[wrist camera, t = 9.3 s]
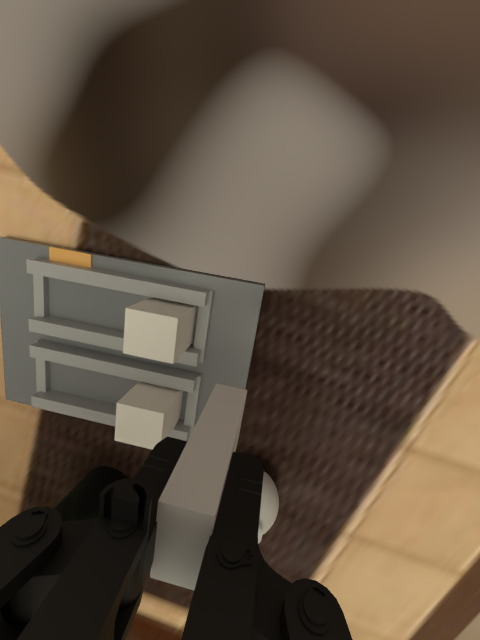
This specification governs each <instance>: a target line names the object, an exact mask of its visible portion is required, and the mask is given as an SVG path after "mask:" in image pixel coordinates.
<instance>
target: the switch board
mask: <svg viewBox="0 0 480 640" xmlns="http://www.w3.org/2000/svg"><path fill="white" fill-rule="evenodd" d="M264 288H265V284H262V283H258V282H252V281H247V280H241V279H236V278H230V277H224V276H219V275H214V274H208V273H202V272H197V271H192V270H186V269H181V268H175V267H170V266H164V265H159V264H153V263H148V262H142V261H137V260H131V259H126V258H120V257H115V256H110V255H104V254H99V253H93V252H88V251H82V250H77V249H71V248H66V247H60V246H55V245H49V244H44V243H38V242H33V241H27V240H22V239H16V238H11V237H0V313H1V329H2V345H3V361H4V377H5V393H6V399H7V400H11V401H15V402H19V403H24V404H28V405H32V407H35V408H40V409H44V410H48V411H52V412H56V413H61V414H65V415H69V416H73V417H77V418H82V419H86V420H90V421H94V422H98V423H103V424H107V425H111V426H115V422H116V403H117V402H118V401H119V400H120V399H121V398H122V397H123V396H124V395H125V394H126V393H127V392H128V391H129V390H130V389H131V388H133V387H134V386H135V385H136V384H137V383H138V382H139V381H141V382H145V383H150V384H154V385H159V386H163V387H168V388H172V389H177V390H182V391H183V399H182V407H181V415H180V418H179V420H178V422H177V423H176V425H175V427H174V429H173V430H172V432H171V434H170V435H169V437H172V438H176V439H180V440H184V441H188V439H189V437H190V435H191V433H192V431H193V429H194V427H195V425H196V423H197V421H198V419H199V417H200V415H201V413H202V411H203V409H204V407H205V405H206V403H207V401H208V399H209V397H210V395H211V393H212V391H213V389H214V387H215V385H216V383H218V384H222V385H227V386H231V387H236V388H240V389H245V390H246V384H247V379H248V374H249V368H250V363H251V358H252V352H253V347H254V341H255V336H256V331H257V325H258V320H259V315H260V309H261V304H262V299H263V293H264ZM151 297H154V298H159V299H164V300H170V301H175V302H180V303H185V304H190V305H196V306H197V312H196V319H195V327H194V335H193V343H192V344H191V345H190V346H189V347H188V348H187V349H186V350H185V351H184V353H183V354H182V355H181V356H180V357H179V358H178V359H177V360H176V361H175V363H174V364H171V363H166V362H161V361H157V360H152V359H147V358H143V357H138V356H133V355H128V354H124V353H123V343H124V326H125V309H126V308H127V307H129V306H132V305H134V304H136V303H139V302H141V301H144V300H146V299H149V298H151Z"/></svg>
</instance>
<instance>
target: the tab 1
mask: <svg viewBox="0 0 480 640" xmlns="http://www.w3.org/2000/svg"><path fill="white" fill-rule="evenodd" d="M196 312H197V306H196V305H190V304H185V303H180V302H175V301H170V300H164V299H159V298H154V297H151V298H149V299H146V300H144V301H141V302H139V303H136V304H134V305H132V306H129V307H127V308H126V309H125V326H124V343H123V353H124V354H128V355H133V356H138V357H143V358H147V359H152V360H157V361H161V362H166V363H171V364H174V363H175V361H176V360H177V359H178V358H179V357H180V356H181V355H182V354H183V353H184V351H185V350H186V349H187V348H188V347H189V346H190V345H191V344H192V343H193V335H194V327H195V319H196Z"/></svg>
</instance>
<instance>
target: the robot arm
mask: <svg viewBox="0 0 480 640" xmlns="http://www.w3.org/2000/svg"><path fill="white" fill-rule="evenodd" d="M246 395H247V390H245V389H240V388H236V387H231V386H227V385H222V384H218V383H216V385H215V387H214V389H213V391H212V393H211V395H210V397H209V399H208V401H207V403H206V405H205V407H204V409H203V411H202V413H201V415H200V417H199V419H198V421H197V423H196V425H195V427H194V429H193V431H192V433H191V435H190V437H189V439H188V441H184V440H180V439H176V438H172V437H168V436H167V437H166V438H164V439H163V440H161V441H160V442H159V443H157V444H156V445H155V447H154V448H153V450H152V452H151V453H150V455H149V457H148V458H147V459H146V461H145V462H144V465H143V466H142V467H141V469H140V470H139V472H138V473H137V475H136V477H135V478H134V479H131V478H126V479H121V480H117V481H115V482H113V483H111V484H109V485H107V486H106V487H105V488H104V489H103V490H102V491H101V492H100V503H99V517H96V518H94V519H88V520H77V521H62V519H61V515H60V514H59V512H58V511H57V510H56V509H53V508H50V507H35V508H32V509H29V510H26V511H23V512H22V513H20V514H18V515H17V516H15V517H13V518H12V519H10V520H9V521H8V522H6V523H5V524H4V525H2V526H1V527H0V640H126V637H127V635H128V632H129V630H130V627H131V625H132V622H133V620H134V617H135V615H136V612H137V610H138V607H139V605H140V602H141V597H142V593H143V585H144V582H145V580H146V578H147V575H148V573H149V570H150V568H151V572H150V577H151V578H154V579H157V580H161V581H164V582H167V583H171V584H174V585H178V586H181V587H184V588H188V589H191V590H194V594H193V597H192V601H191V605H190V609H189V613H188V616H187V620H186V624H185V628H184V632H183V635H182V639H181V640H352V637H351V634H350V631H349V629H348V626H347V623H346V620H345V617H344V614H343V611H342V609H341V607H340V605H339V603H338V601H337V599H336V598H335V597H334V596H333V594H332V593H331V592H330V591H329V590H328V589H327V588H326V587H325V586H323V585H322V584H320V583H319V582H317V581H315V580H310V579H306V578H305V579H300V580H296V581H295V582H294V583H293V584H292V583H291V582H289V581H288V580H286V579H285V578H283V577H282V576H281V575H279V574H278V573H276V572H275V571H274V570H273V569H272V568H270V566H269V565H268V564H267V563H266V561H265V560H264V558H263V556H262V554H261V552H260V549H259V545H258V529H259V518H260V508H261V497H262V486H263V485H262V484H263V475H264V469H263V466H262V463H261V461H260V458H258V457H254V456H250V455H245V454H241V453H237V452H235V451H236V446H237V442H238V438H239V432H240V427H241V422H242V416H243V411H244V406H245V400H246Z"/></svg>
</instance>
